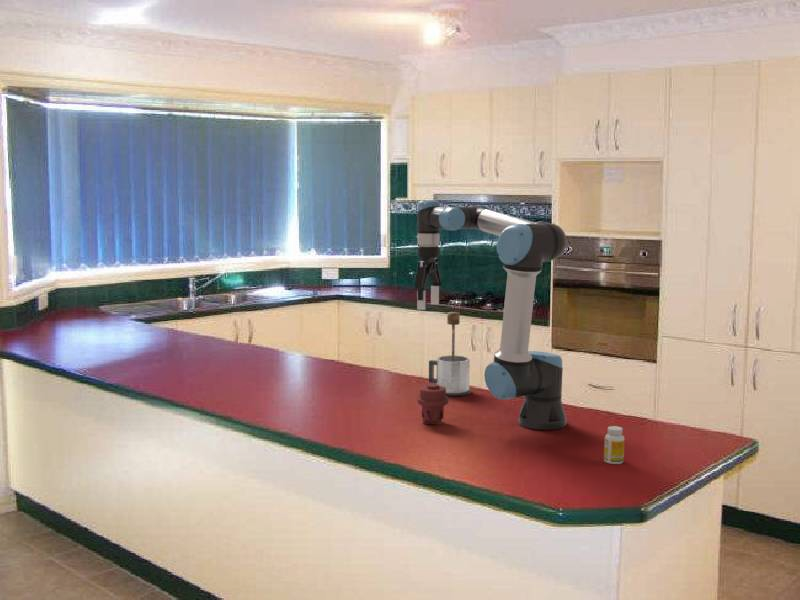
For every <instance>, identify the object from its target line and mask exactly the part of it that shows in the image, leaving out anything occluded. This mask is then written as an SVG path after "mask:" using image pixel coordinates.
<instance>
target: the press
mask: <svg viewBox="0 0 800 600" xmlns="http://www.w3.org/2000/svg"><path fill="white" fill-rule="evenodd" d="M470 360H471V359H470V358H469V357H467V356H463V355H455V356H454V362H452V355H441V356H438V357H437V358H436V360H432V359H431V360H429V361H428V383H429V384H438V385H439V386H442V387H445V388H446V396H447V397H448V398H449V397H454V398H455V397H456V398H457V397H465V396H469V395H471V391H472V390H471V388H470V367H471V366H470V362H471V361H470ZM435 366H436V378H435Z"/></svg>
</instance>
